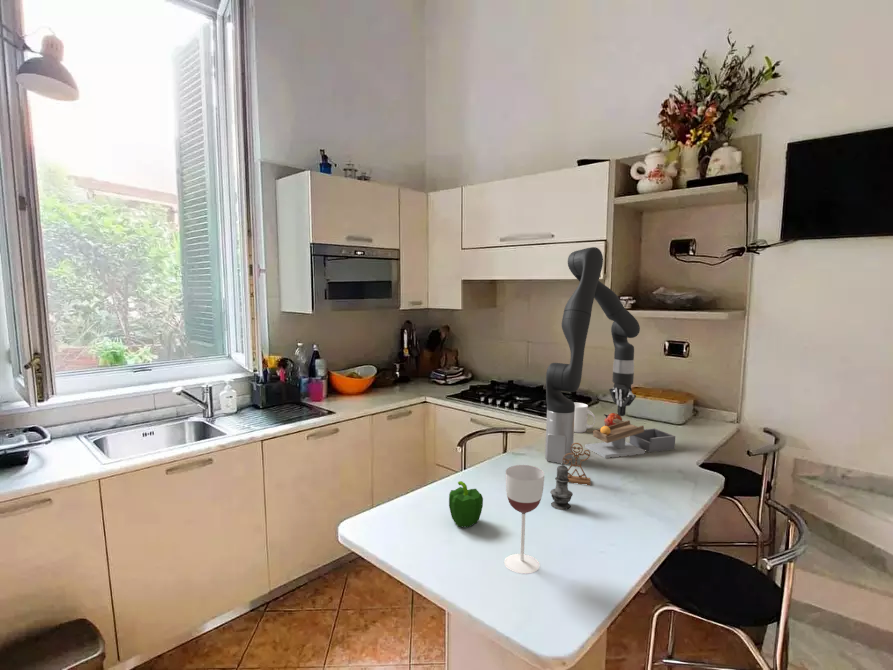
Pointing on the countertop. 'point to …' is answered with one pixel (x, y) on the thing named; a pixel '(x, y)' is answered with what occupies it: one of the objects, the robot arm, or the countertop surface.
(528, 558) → the wineglass
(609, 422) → the pomegranate
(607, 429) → the ball
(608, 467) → the countertop surface
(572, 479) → the gingerbread man figurine
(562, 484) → the salt shaker
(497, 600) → the countertop surface
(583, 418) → the mug
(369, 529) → the countertop surface
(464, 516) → the bell pepper
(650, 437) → the grey open box
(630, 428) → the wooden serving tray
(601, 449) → the base
